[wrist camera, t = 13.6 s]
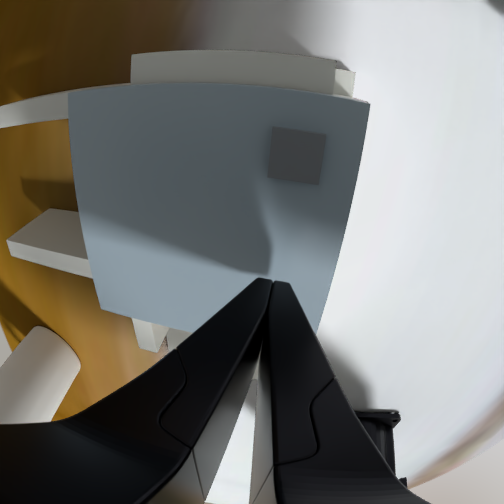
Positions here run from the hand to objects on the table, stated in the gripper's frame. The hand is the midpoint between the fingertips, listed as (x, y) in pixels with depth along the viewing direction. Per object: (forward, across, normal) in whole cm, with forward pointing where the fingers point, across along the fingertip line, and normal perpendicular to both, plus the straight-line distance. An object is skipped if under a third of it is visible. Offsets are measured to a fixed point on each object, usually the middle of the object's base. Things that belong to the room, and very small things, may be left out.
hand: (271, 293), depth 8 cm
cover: (+2, +2, -1) cm, 3 cm away
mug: (+7, +20, +19) cm, 28 cm away
